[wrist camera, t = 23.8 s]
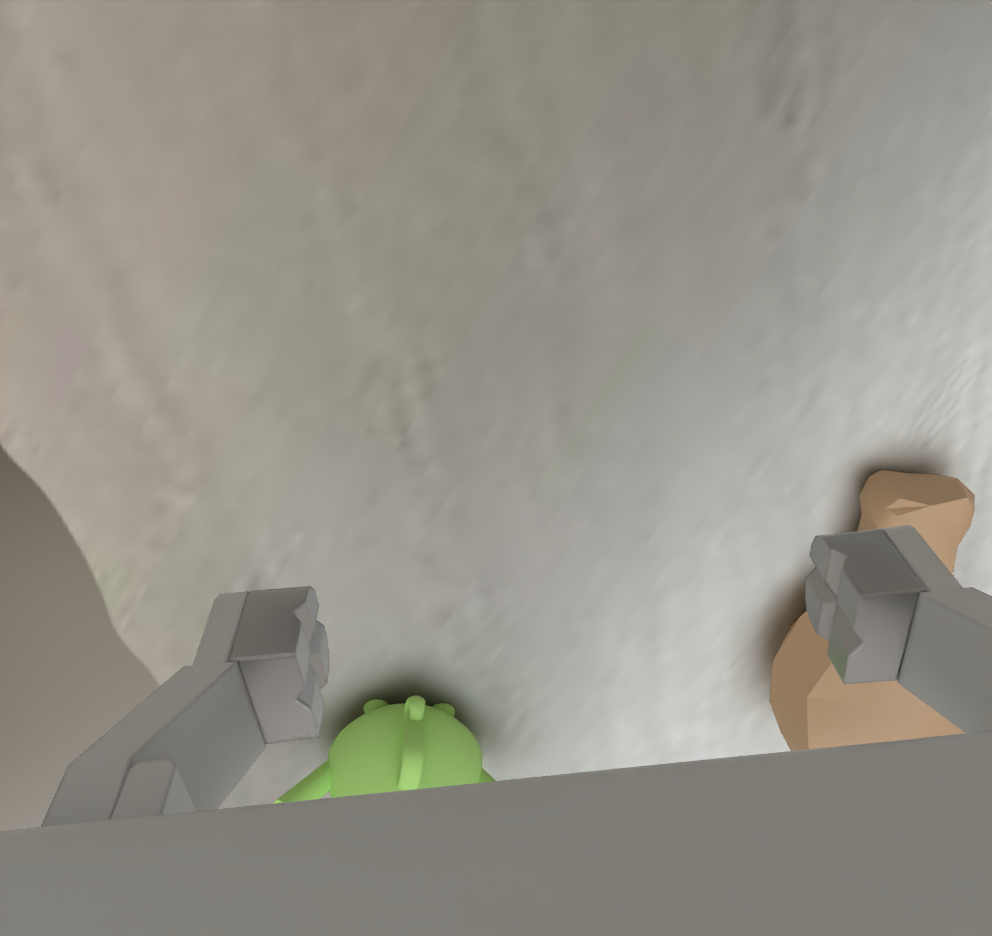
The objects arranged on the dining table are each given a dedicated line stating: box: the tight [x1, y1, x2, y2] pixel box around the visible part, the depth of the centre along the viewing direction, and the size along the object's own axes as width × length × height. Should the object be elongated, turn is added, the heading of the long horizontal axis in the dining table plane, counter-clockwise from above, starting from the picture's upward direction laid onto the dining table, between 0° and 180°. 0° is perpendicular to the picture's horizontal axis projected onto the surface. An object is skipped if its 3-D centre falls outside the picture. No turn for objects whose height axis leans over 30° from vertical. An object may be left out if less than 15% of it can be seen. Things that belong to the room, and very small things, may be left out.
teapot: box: [274, 695, 495, 804], centre depth 52 cm, size 11×12×8 cm
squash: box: [770, 470, 975, 751], centre depth 48 cm, size 11×20×9 cm, turn 0°
